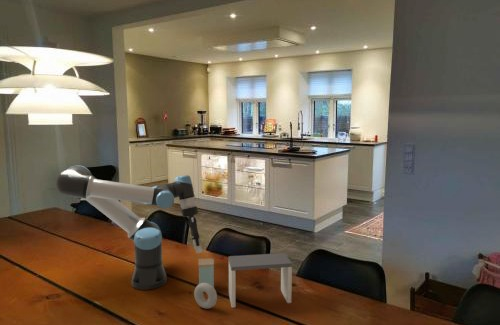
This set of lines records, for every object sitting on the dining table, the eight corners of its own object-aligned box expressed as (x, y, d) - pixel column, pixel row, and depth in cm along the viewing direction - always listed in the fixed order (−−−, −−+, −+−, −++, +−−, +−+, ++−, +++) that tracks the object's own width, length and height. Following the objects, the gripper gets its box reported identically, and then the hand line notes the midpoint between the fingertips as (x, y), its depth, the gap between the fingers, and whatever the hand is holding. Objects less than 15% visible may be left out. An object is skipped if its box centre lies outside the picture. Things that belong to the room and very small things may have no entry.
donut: (218, 308, 139) (218, 284, 138) (214, 313, 136) (213, 288, 135) (197, 302, 144) (197, 278, 143) (192, 306, 141) (192, 282, 140)
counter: (231, 307, 140) (231, 267, 138) (228, 294, 151) (228, 256, 149) (291, 302, 144) (292, 263, 142) (284, 289, 155) (284, 253, 153)
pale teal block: (199, 292, 152) (198, 265, 151) (198, 285, 158) (198, 259, 157) (214, 291, 153) (214, 264, 152) (213, 284, 160) (213, 258, 158)
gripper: (198, 205, 162) (208, 252, 161) (195, 205, 186) (203, 245, 185) (182, 209, 161) (192, 256, 159) (180, 208, 185) (189, 249, 183)
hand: (198, 250), depth 172 cm, fingers open, 13 cm apart
